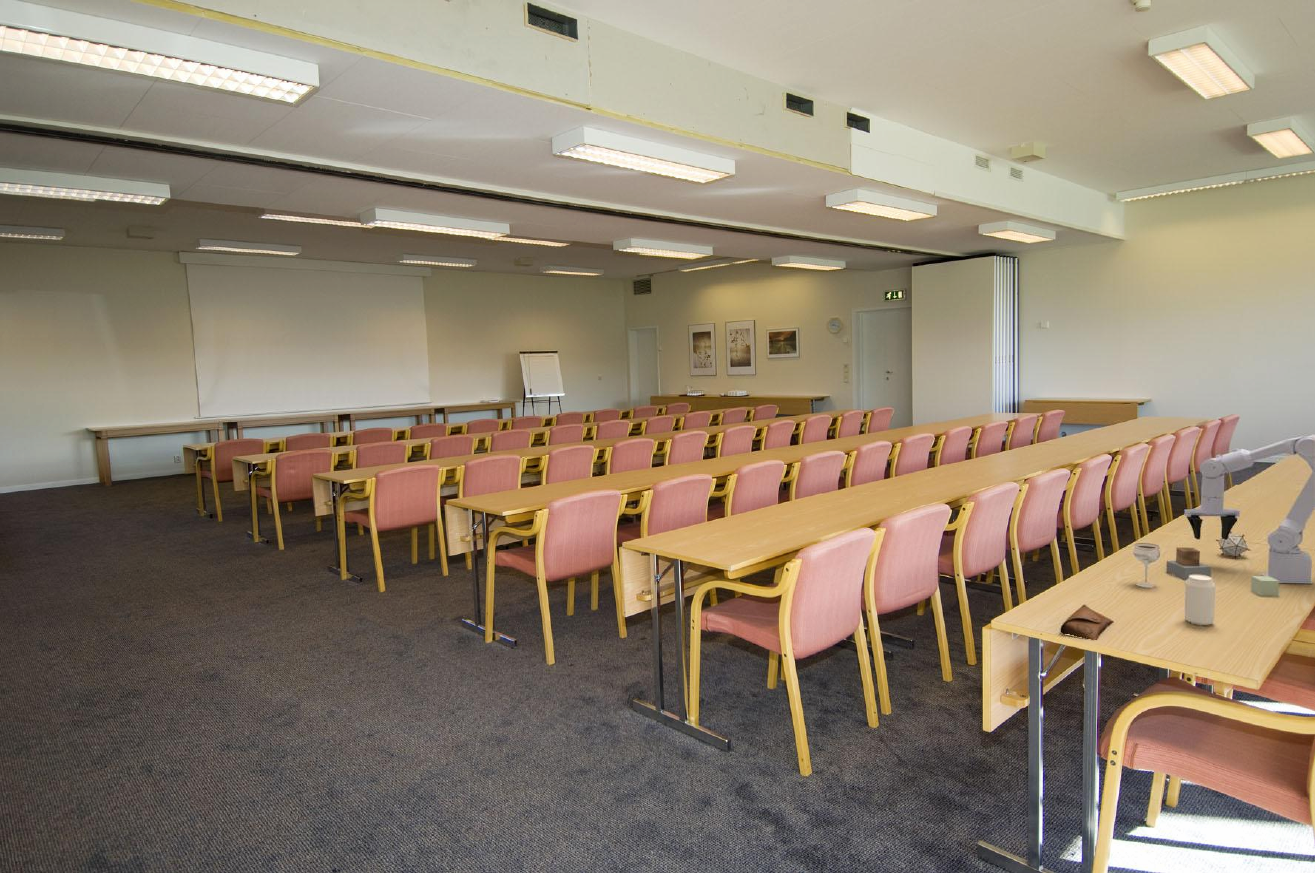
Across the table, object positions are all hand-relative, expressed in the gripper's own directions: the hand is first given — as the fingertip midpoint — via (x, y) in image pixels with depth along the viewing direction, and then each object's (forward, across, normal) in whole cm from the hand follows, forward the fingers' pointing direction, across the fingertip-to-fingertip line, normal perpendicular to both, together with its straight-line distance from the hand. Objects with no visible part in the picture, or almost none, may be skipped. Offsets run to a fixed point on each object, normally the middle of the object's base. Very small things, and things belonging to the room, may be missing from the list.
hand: (1210, 538), depth 239 cm
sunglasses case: (+10, +54, +58) cm, 80 cm away
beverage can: (+10, +26, +52) cm, 59 cm away
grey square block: (+10, +10, +9) cm, 17 cm away
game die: (+10, -13, -14) cm, 21 cm away
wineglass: (+10, +26, +20) cm, 34 cm away
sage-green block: (+10, -2, +26) cm, 28 cm away
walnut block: (+6, +10, +9) cm, 15 cm away
